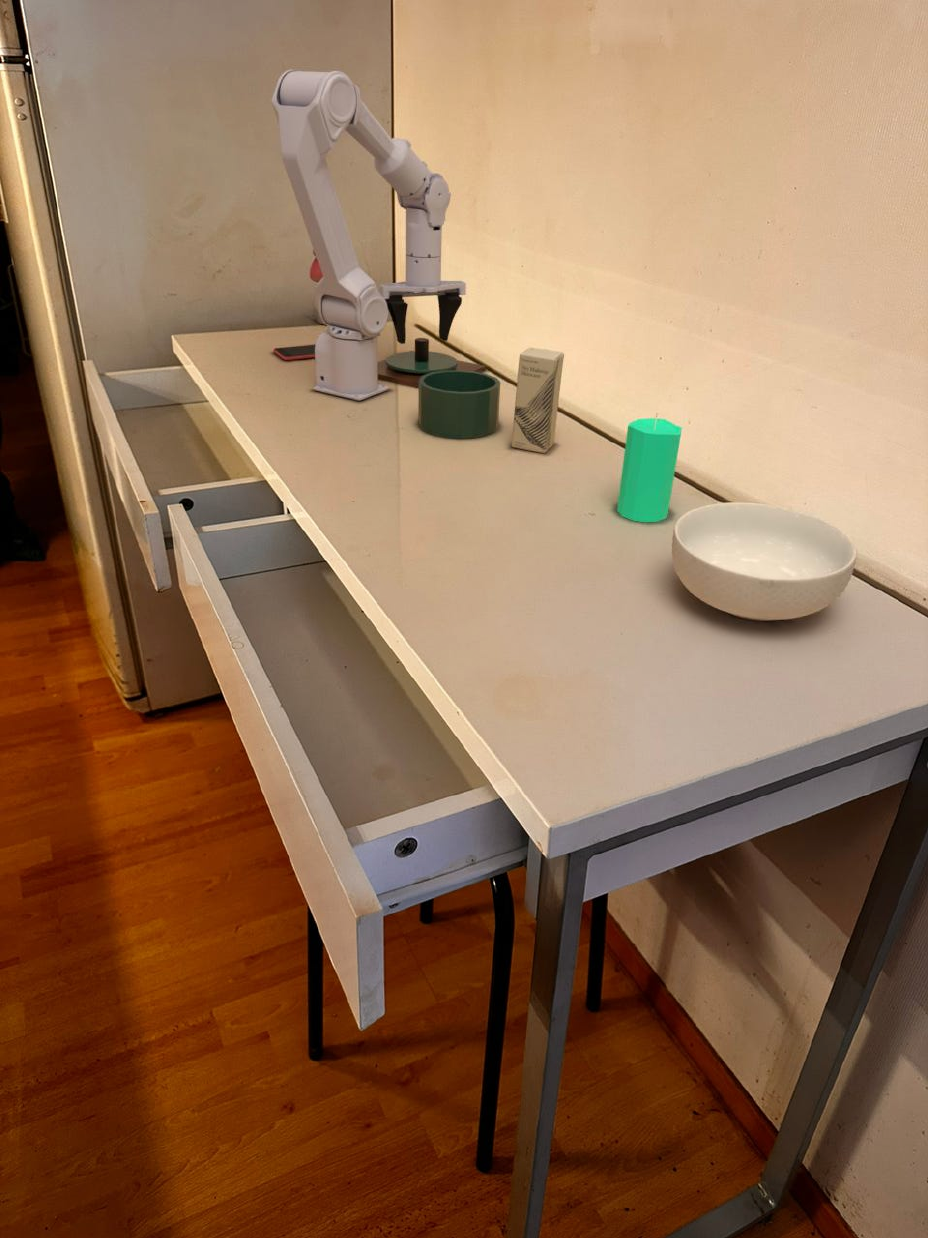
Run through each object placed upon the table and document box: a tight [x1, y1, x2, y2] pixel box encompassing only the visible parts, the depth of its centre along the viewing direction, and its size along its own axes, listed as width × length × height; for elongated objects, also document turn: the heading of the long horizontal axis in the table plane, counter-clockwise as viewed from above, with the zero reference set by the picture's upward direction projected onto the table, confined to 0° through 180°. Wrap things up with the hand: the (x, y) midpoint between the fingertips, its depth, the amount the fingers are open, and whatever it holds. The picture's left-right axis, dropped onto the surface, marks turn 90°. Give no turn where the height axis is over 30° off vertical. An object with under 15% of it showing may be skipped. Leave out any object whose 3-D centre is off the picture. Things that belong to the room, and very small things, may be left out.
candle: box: [616, 412, 683, 523], centre depth 103 cm, size 6×6×12 cm
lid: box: [384, 337, 458, 374], centre depth 153 cm, size 12×12×5 cm
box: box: [511, 347, 565, 454], centre depth 121 cm, size 5×4×13 cm
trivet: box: [377, 350, 487, 389], centre depth 154 cm, size 16×16×1 cm
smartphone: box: [273, 343, 316, 361], centre depth 162 cm, size 7×1×14 cm
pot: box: [417, 370, 501, 440], centre depth 129 cm, size 11×11×6 cm
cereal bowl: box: [671, 501, 858, 622], centre depth 86 cm, size 17×17×7 cm
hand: (422, 340), depth 151 cm, fingers open, 7 cm apart
